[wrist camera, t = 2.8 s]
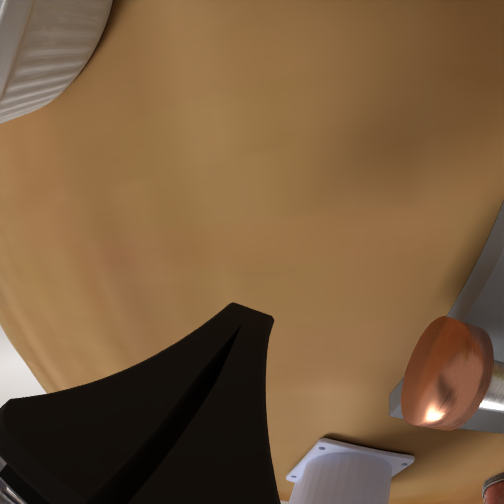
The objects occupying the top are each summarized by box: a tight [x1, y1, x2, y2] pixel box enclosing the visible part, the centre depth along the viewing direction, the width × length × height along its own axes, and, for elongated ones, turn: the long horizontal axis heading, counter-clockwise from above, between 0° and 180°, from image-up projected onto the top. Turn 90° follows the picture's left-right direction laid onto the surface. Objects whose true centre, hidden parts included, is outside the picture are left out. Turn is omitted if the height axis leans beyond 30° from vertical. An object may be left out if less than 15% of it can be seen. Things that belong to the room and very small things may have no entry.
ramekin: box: [0, 0, 113, 124], centre depth 8 cm, size 13×13×7 cm
